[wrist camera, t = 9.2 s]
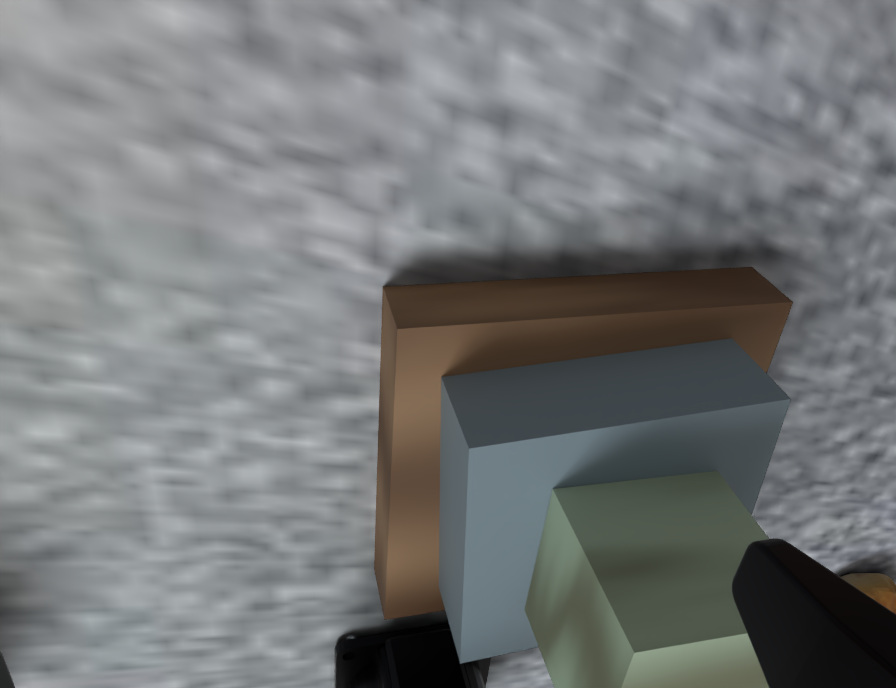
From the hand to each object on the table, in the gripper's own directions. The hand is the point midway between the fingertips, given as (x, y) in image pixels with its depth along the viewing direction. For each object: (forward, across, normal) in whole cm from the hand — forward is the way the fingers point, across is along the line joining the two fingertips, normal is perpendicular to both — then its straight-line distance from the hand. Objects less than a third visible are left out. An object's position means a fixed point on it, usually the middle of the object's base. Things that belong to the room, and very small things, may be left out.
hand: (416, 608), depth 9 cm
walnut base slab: (+14, -8, +9) cm, 18 cm away
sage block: (+8, -8, +9) cm, 15 cm away
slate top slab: (+11, -8, +9) cm, 16 cm away
